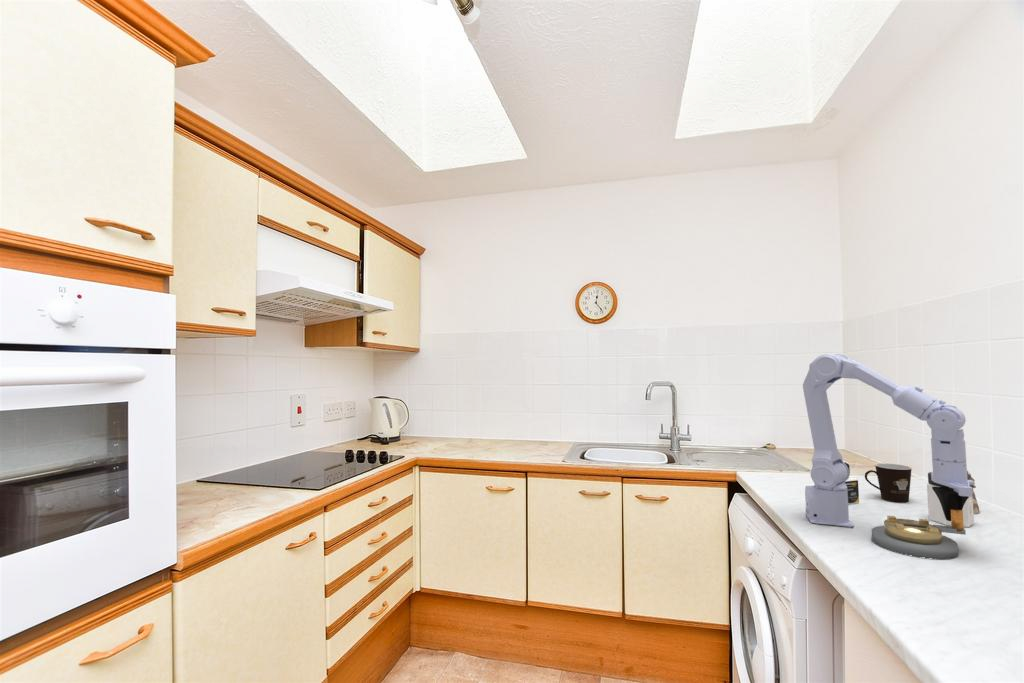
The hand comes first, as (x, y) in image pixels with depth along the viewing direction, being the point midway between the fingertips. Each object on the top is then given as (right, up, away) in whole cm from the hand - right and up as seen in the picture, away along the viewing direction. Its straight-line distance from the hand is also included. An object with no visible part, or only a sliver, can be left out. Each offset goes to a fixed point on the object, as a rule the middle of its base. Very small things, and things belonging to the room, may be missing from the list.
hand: (952, 520), depth 106 cm
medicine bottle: (-1, -8, +36) cm, 37 cm away
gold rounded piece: (-6, -4, 0) cm, 7 cm away
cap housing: (-8, -6, +1) cm, 10 cm away
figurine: (+26, -7, +25) cm, 37 cm away
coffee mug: (+15, -8, +37) cm, 41 cm away
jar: (+15, -7, +16) cm, 23 cm away
